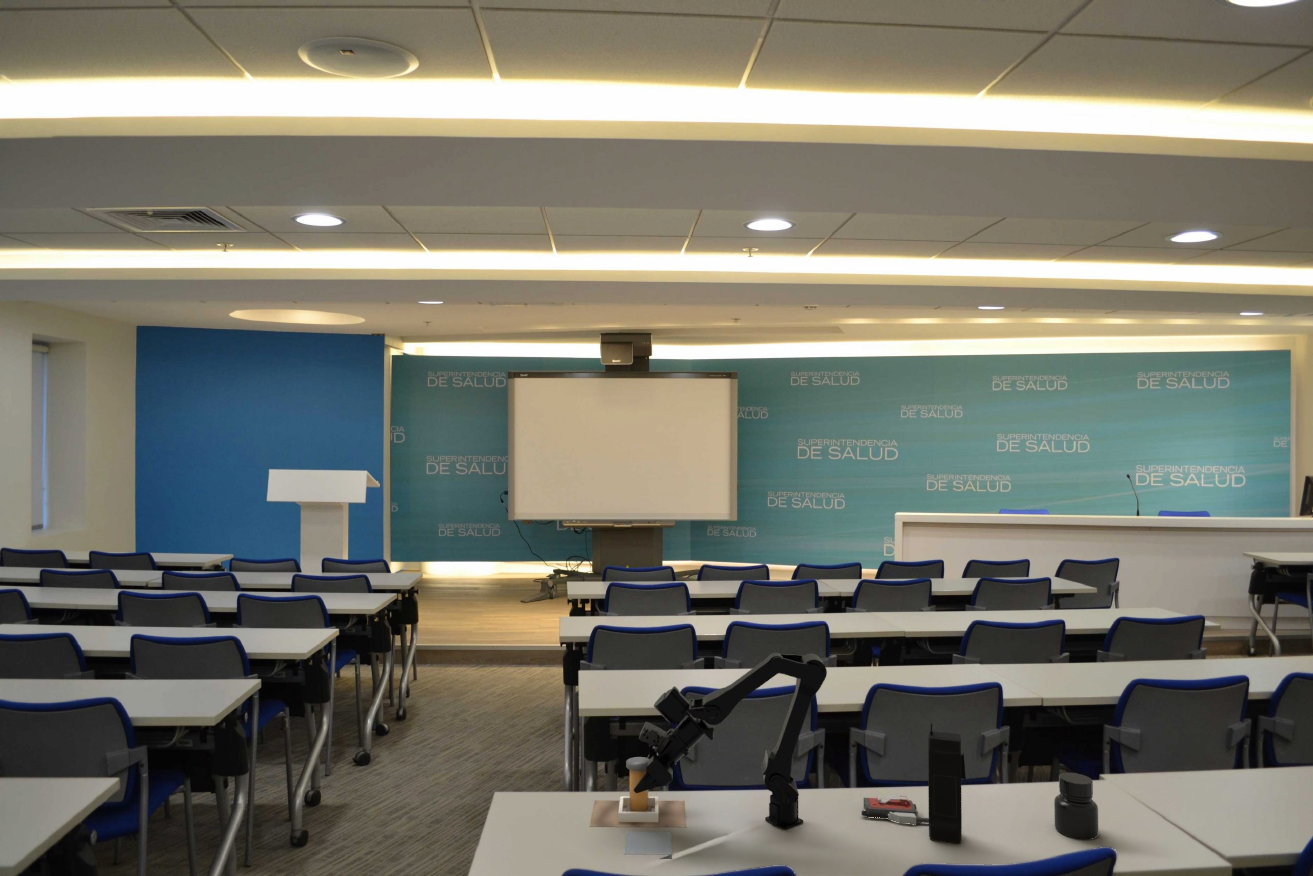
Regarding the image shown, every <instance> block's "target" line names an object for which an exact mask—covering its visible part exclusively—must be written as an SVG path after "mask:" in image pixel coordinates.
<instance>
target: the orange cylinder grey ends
mask: <svg viewBox="0 0 1313 876" xmlns="http://www.w3.org/2000/svg"><path fill="white" fill-rule="evenodd" d="M649 760H650V759H648V758H647V757H644V756H643V757H642V756H636V757H635V756H634V757H630V758H628V759H626V761H625V763H626V764H625V765H626V766H625V768H627V769H628V770H629V796H630V805H629V806H628V807H627V808H626V812H652V808H651V807H650V806H649V805H648V796H649V790H646V791H643V792H640V793H635V792H634V788H635V786H636V785H637V784H638V782H639V781H640V780H641V778H642V777H643V776H644V774H645V773H646V764H647V762H648V761H649Z"/></svg>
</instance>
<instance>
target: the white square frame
mask: <svg viewBox="0 0 1313 876" xmlns="http://www.w3.org/2000/svg"><path fill="white" fill-rule="evenodd" d="M619 801H620V803H619V812H618V822H658V801H659V796H649V795H648V805H649V806H655V812H623V806H629V805H630V795H629V796H628V795H627V796H626V795H625V796H624V795H623V796H621V795H620V797H619Z"/></svg>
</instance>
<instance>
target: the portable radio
mask: <svg viewBox="0 0 1313 876" xmlns="http://www.w3.org/2000/svg"><path fill="white" fill-rule="evenodd" d="M929 725H930V730H928V733H927V745H928V746H927V750H928V751H927V753H928V755H927V759H928V760H927V761H928V762H927V765H928V767H927V769H928V771H927V772H928V775H927V776H928V777H927V778H928V781H927V783H928V784H927V785H928V788H927V789H928V792H927V793H928V795H927V796H928V818H929V823H928V837H929V839H930V840H931V841H936V842H941V843H942V842H943V843H950V844H956V845H959V844H961V843H962V835H963V834H962V832H963V831H962V828H963V827H962V822H963V821H962V817H963V815H962V814H963V813H962V811H963V810H962V808H963V807H962V780H964V782H966V781H967V779H966V764H965V753H964V752H963V753H962V737H961V734H960V733H954V732H943V731H936V730H935V731H934V730H933V726H934V724H933V723H929Z"/></svg>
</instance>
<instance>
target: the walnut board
mask: <svg viewBox="0 0 1313 876" xmlns="http://www.w3.org/2000/svg"><path fill="white" fill-rule="evenodd" d="M619 803H620V800H610V799H609V800H599V799H598V800H594V801H593V805H592V806H593V807H592V813H591V817H590V822H589V823H590V824H589V828H687V816H686V814H687V813H686V804H685V803H686V802H685V800H658V822H618V812H619ZM627 807H628V806H623V812H626V808H627ZM650 807H651V808H652V812H655V806H650Z"/></svg>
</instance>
